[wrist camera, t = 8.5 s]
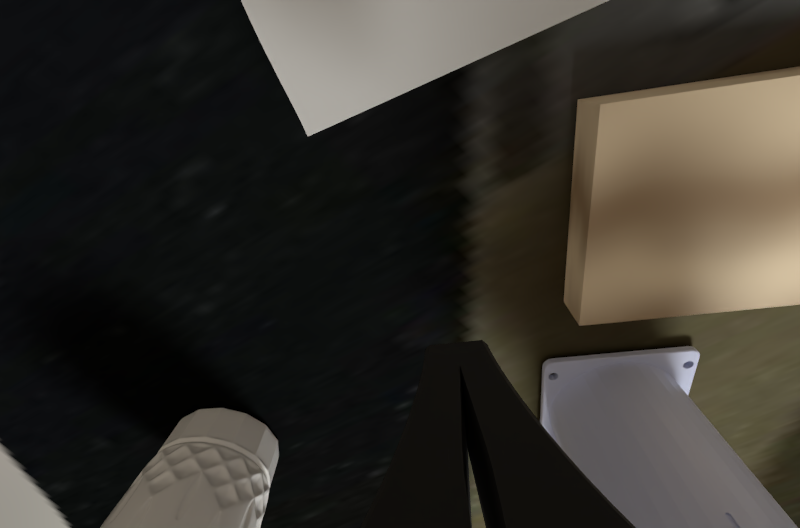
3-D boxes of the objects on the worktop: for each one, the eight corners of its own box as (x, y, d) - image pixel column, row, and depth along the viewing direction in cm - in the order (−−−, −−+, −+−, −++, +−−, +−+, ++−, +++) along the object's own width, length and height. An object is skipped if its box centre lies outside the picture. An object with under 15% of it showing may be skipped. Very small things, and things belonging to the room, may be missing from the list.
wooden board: (844, 272, 18) (892, 295, 16) (563, 301, 19) (579, 326, 17) (951, 43, 14) (1032, 40, 12) (577, 99, 15) (600, 104, 13)
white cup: (165, 463, 26) (41, 667, 17) (170, 385, 23) (17, 591, 14) (278, 487, 27) (214, 691, 18) (299, 417, 24) (233, 627, 15)
